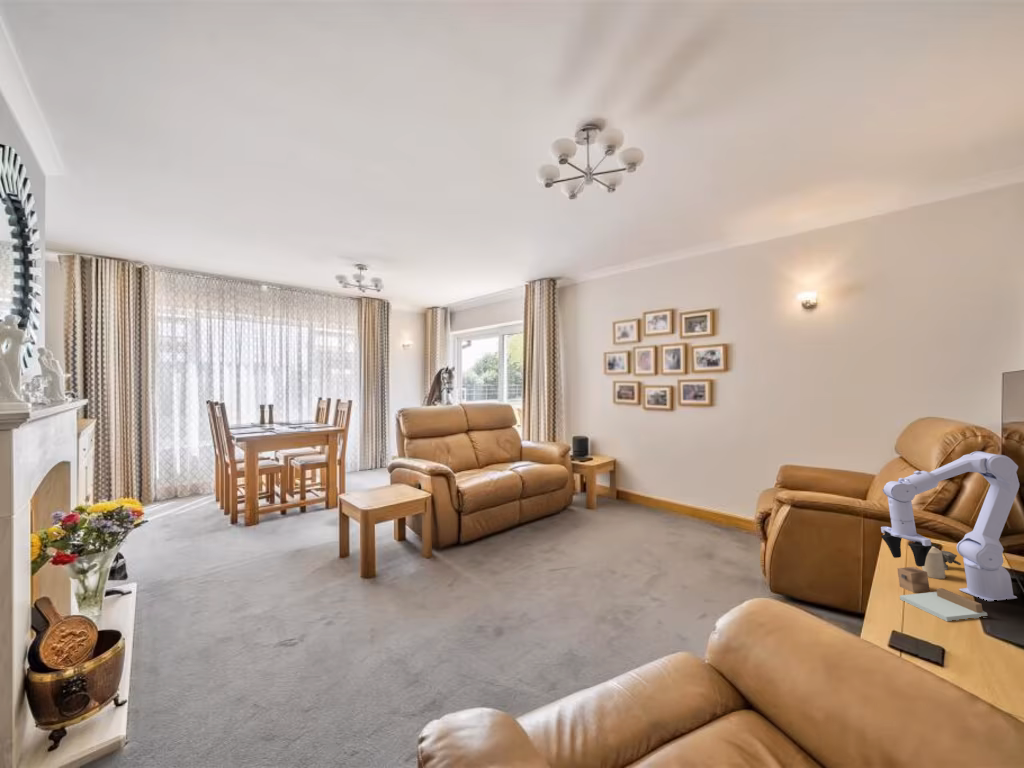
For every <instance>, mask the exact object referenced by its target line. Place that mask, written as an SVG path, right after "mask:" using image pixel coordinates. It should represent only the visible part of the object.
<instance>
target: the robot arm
mask: <svg viewBox="0 0 1024 768" xmlns="http://www.w3.org/2000/svg"><path fill="white" fill-rule="evenodd" d="M1018 469H1019V465H1018V464H1017V463H1016V462H1015V461H1014V460H1013V459H1012V458H1010V457H1009V456H1007V455H1004V454H995V453H989V452H986V451H979V450H977V451H973V452H971V453H967V454H964V455H962V456H961V457H959V458H958V459H955V460H953V461H952V462H949V463H946V464H944V465H942V466H940V467H937V468H935V469H933V470H932V471H926V470H915V471H913V473H912V474H911V475H908V476H906V477H899V478H898V480H894V481H893V480H890V481H888V482H886V483H885V484H884V487H883V489H882V492H883V494H884V495H885V497H887V502H888V509H889V517H890V523H891V527H890V526H881V527H880V531H881V533H882V535H880V537H881V538H882V540H883V541H884V542H885V544H886V545H887V547H888V549H889V550H890V554H891V555H892V558H895V559H898V558H902V550H901V549H902V548H901V546H902V545H901V543H902V539H905V540H907V541H910V542H911V543H908V546H909V548H910V549H911V552H912V554H913V559H914V561H915V562H914V563H915V565H916V567H921V566H925V561H926V557H927V554H928V552H929V550H930V549H931V548H932V542H931V541H932V540H931V538H927V537H925V536H923V535H921V534H919V533H917V530H916V529H917V528H916V523H915V515H914V508H913V503H912V500H914V498H915V497H916V496H917V495H919V494H922V493H924V492H928V491H930V490H932V489H935V488H938V485H939V483H940V482H941V481H945V480H947V479H950V478H953V477H957V476H958V475H962V474H966V473H968V472H969V473H978V474H980V475H981V476H983V478H984V479H985V480H986V481H987V482H988V483H989V485H990V486H989V487H988V491H987V493H986V496H985V498H984V501H983V504H982V506H981V509H980V512H979V514H978V517H977V520H976V522H975V525H974V527H973V530H972V531H969V532H967V533H965V535H964V537H963V538H962V539H961V540H960V541H959V542H957V544H956V551H957V553H958V554H959V555H960V556H961V557H962V558H963V566H964V573H965V580H966V587H964V588H959V589H958V590H959V591H960V592H963V593H965V594H968V595H970V596H973V597H976V598H978V597H979V598H978V599H981V600H983V599H984V600H983V601H986V600H987V601H986V602H995V601H994V600H997V601H1006V599H1007V600H1014V599H1018V597H1017V596H1016V595H1014V590H1013V583H1012V579H1011V578H1012V577H1011V574H1010V573H1009V571H1008V570H1007V569H1006V568H1005V567H1003V564H1004V557H1003V552H1004V550H1005V549H1004V547H1003V545H1002V543H1001V542H1000V537H1001V535H1002V533H1003V531H1004V527H1005V524H1006V522H1007V520H1008V517H1009V515H1010V511H1011V510H1012V507H1013V504H1014V502H1015V499H1016V496H1017V494H1018V491H1019V488H1020V482H1019V481H1020V480H1019V478H1018V474H1017V473H1018Z"/></svg>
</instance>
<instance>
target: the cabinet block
mask: <svg viewBox="0 0 1024 768" xmlns="http://www.w3.org/2000/svg"><path fill="white" fill-rule="evenodd" d="M897 576H898V583H899V587H900V588H901V589H905V590H907V591H908V592H912V594H915V593H925V592H931V590H930V584H929V577H928V575H927V572H926V571H923V570H922V569H920V568H917V567H915V566H908V567H907V566H906V567H898V568H897Z"/></svg>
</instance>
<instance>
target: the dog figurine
mask: <svg viewBox="0 0 1024 768" xmlns="http://www.w3.org/2000/svg"><path fill="white" fill-rule="evenodd" d="M941 551H942V556H943V563H944V570H945V571H949V569H948V567H949V565H948V564H947V563H949V564H956V565H958V566H962V563H961V562H959V561H957V560H956V558H957V557H958V555H957V554H955V553H953V552H951V551H947V550H941ZM920 567H921V568H922V566H920Z"/></svg>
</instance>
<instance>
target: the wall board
mask: <svg viewBox="0 0 1024 768" xmlns="http://www.w3.org/2000/svg"><path fill="white" fill-rule="evenodd" d="M935 590H936V591H928V592H918V593H912V594H910V593H909V594H902V595H899V600H901V601H903V602H904V601H905V603H907V604H909V605H911V606H913V607H916V608H917V609H920V610H921V611H924V612H926V613H928V614H930V615H933V616H935V617H936V616H937V618H939V619H941V620H943V621H945V622H953V621H952V620H956V621H960V620H959V619H965V620H968V619H967V618H974V619H980V618H979V617H981V616H988V612H986V611H984V610H983V606H982V603H979V602H977V601H975V600H972V599H970V598H968V597H964V596H963V595H960V594H958V593H955V592H953V591H951V590H947V589H946V588H942V587H941V588H939V587H938V588H936V589H935Z"/></svg>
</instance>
